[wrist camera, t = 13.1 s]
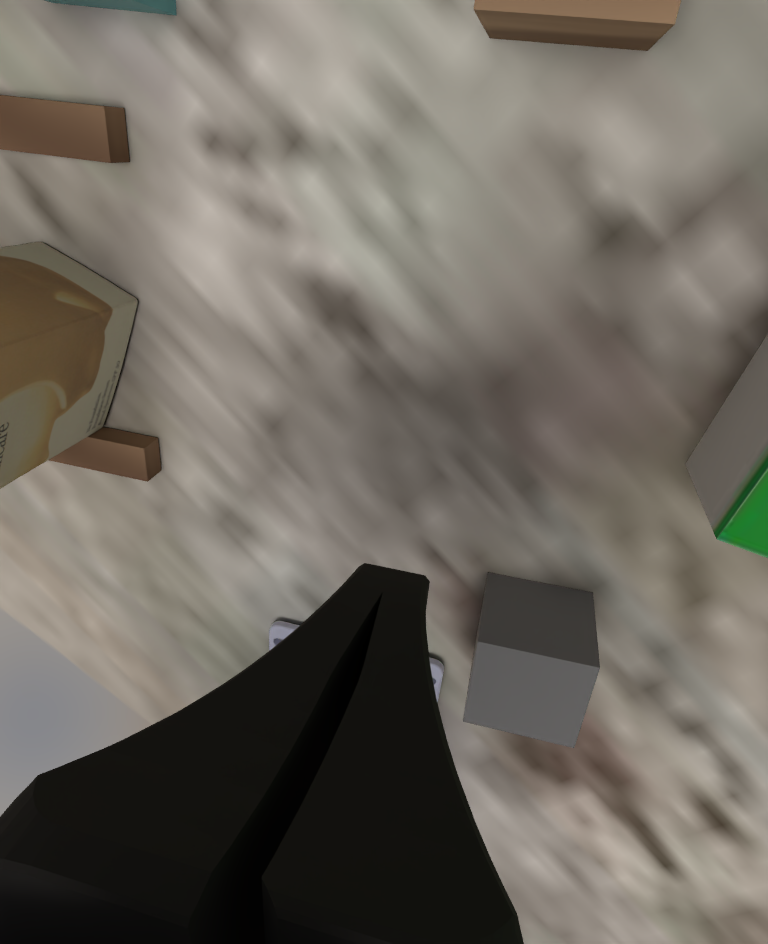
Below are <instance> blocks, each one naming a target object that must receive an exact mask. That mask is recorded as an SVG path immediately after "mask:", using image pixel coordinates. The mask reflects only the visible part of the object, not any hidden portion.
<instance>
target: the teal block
mask: <svg viewBox="0 0 768 944" xmlns="http://www.w3.org/2000/svg"><path fill="white" fill-rule="evenodd" d="M45 1H49V2H52V3H60V4H70V5H79V6H89V7H99V8H109V9H119V10H129V11H138V12H148V13H158V14H168V15H176V0H45Z"/></svg>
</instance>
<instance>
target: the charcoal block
mask: <svg viewBox="0 0 768 944" xmlns="http://www.w3.org/2000/svg"><path fill="white" fill-rule="evenodd" d="M599 669H600V664H599V653H598V642H597V632H596V621H595V611H594V600H593V592H587V591H582V590H577V589H572V588H567V587H562V586H557V585H551V584H546V583H541V582H536V581H531V580H526V579H521V578H515V577H510V576H505V575H500V574H495V573H490V572H488V574H487V580H486V586H485V591H484V597H483V602H482V608H481V613H480V619H479V624H478V630H477V635H476V641H475V646H474V653H473V659H472V666H471V672H470V679H469V686H468V692H467V699H466V705H465V712H464V718H463V722H467V723H472V724H476V725H480V726H484V727H488V728H492V729H497V730H501V731H505V732H509V733H513V734H517V735H522V736H526V737H530V738H534V739H538V740H542V741H547V742H551V743H555V744H559V745H563V746H567V747H572V748H574V746H575V743H576V740H577V737H578V734H579V731H580V728H581V725H582V722H583V719H584V715H585V712H586V709H587V706H588V703H589V700H590V697H591V694H592V691H593V688H594V685H595V681H596V678H597V675H598V672H599Z"/></svg>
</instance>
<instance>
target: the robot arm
mask: <svg viewBox="0 0 768 944" xmlns="http://www.w3.org/2000/svg"><path fill="white" fill-rule="evenodd" d="M429 583H430V581H429V580H428V579H427V578H426V576H425V575H420V574H415V573H410V572H405V571H401V570H396V569H391V568H386V567H381V566H376V565H371V564H366V563H364V564H363V565H361V566H359V567H358V568H357V570H356V571H355V572H354V573H353V574H352V575H351V576H350V577H349V578H348V579H347V581H346V582H345V583H344V584H343V585H342V586H341V587H340V588H339V589H338V590H337V591H336V592H335V593H334V594H333V595H332V596H331V597H330V598H329V599H328V600H327V601H326V602H325V603H324V604H323V605H322V606H321V607H320V608H319V609H317V610H316V611H315V612H314V613H313V614H312V615H311V616H310V617H309V618H308V619H307V620H306V621H304V622H303V623H302V624H301V625H296V624H292V623H288V622H284V621H275V622H274V623H273V624H272V625H271V627H270V630H269V652H267V653H266V654H265V655H264V656H262V657H261V658H260V659H258V660H257V661H256V662H254V663H253V664H252V665H250V666H249V667H247V668H246V669H245V670H243V671H242V672H240V673H239V674H237V675H236V676H234V677H233V678H232V679H230V680H229V681H227V682H226V683H224V684H223V685H221V686H219V687H218V688H216V689H215V690H213V691H211V692H210V693H208V694H206V695H205V696H203V697H202V698H200V699H198V700H197V701H195V702H194V703H192V704H190V705H188V706H187V707H185V708H183V709H182V710H180V711H178V712H176V713H174V714H173V715H171V716H169V717H167V718H165V719H163V720H161V721H159V722H157V723H155V724H153V725H151V726H149V727H147V728H145V729H144V730H141V731H140V732H138V733H136V734H134V735H132V736H130V737H128V738H126V739H124V740H121V741H119V742H117V743H115V744H113V745H111V746H108V747H106V748H104V749H102V750H99V751H97V752H94V753H92V754H90V755H87V756H85V757H82V758H80V759H77V760H75V761H72V762H70V763H68V764H65V765H63V766H61V767H58V768H55V769H53V770H50V771H48V772H45V773H42V774H40V775H38V776H37V777H36V778H35V779H34V780H33V782H32V783H31V784H30V785H29V786H28V787H27V788H26V789H25V790H24V791H23V792H22V793H21V794H20V795H19V796H18V797H17V798H16V799H15V800H14V801H13V802H12V804H11V805H10V806H9V807H8V808H7V809H6V811H5V812H4V813H3V814H2V815H1V817H0V944H524V943H523V938H522V934H521V930H520V925H519V921H518V916H517V913H516V911H515V909H514V906H513V904H512V902H511V900H510V898H509V896H508V894H507V892H506V890H505V888H504V886H503V884H502V882H501V880H500V878H499V875H498V873H497V871H496V869H495V867H494V865H493V862H492V860H491V858H490V856H489V853H488V851H487V849H486V846H485V844H484V842H483V839H482V837H481V835H480V832H479V830H478V827H477V825H476V823H475V820H474V818H473V815H472V812H471V809H470V807H469V804H468V801H467V799H466V796H465V793H464V790H463V788H462V785H461V782H460V780H459V777H458V774H457V771H456V768H455V765H454V762H453V759H452V755H451V752H450V749H449V746H448V742H447V739H446V735H445V731H444V728H443V724H442V720H441V716H440V712H439V708H438V698H439V693H440V688H441V683H442V678H443V673H444V666H443V664H442V663H441V662H440V661H439V660H436V659H434V658H430V657H429V652H428V643H427V634H426V605H427V598H428V590H429ZM278 638H279V639H282V641H281V640H279V639H278ZM432 677H433V678H432Z"/></svg>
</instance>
